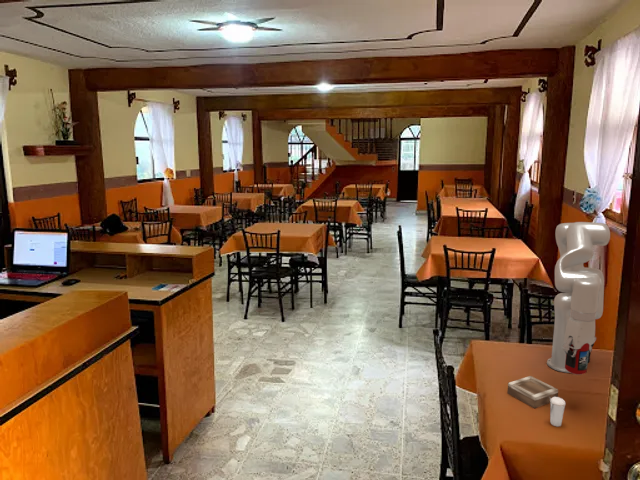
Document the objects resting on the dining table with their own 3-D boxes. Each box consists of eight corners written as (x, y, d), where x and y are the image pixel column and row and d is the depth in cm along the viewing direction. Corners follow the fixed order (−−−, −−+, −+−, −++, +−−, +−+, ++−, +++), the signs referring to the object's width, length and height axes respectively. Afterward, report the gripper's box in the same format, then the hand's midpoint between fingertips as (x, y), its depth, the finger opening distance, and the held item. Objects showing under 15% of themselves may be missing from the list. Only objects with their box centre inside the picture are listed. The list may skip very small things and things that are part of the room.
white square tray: (529, 385, 187) (530, 375, 186) (557, 400, 177) (558, 389, 176) (507, 393, 182) (508, 382, 181) (534, 408, 171) (535, 397, 171)
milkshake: (543, 420, 164) (545, 393, 162) (558, 419, 164) (560, 392, 162) (550, 428, 159) (553, 400, 158) (566, 427, 160) (568, 399, 158)
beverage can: (585, 377, 164) (589, 344, 161) (563, 373, 167) (566, 340, 165) (587, 369, 169) (590, 337, 167) (565, 365, 173) (568, 333, 170)
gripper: (589, 306, 170) (583, 354, 174) (555, 315, 163) (550, 365, 167) (609, 313, 164) (604, 362, 168) (575, 323, 156) (570, 374, 160)
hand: (577, 363), depth 167 cm, fingers closed on beverage can, 6 cm apart
